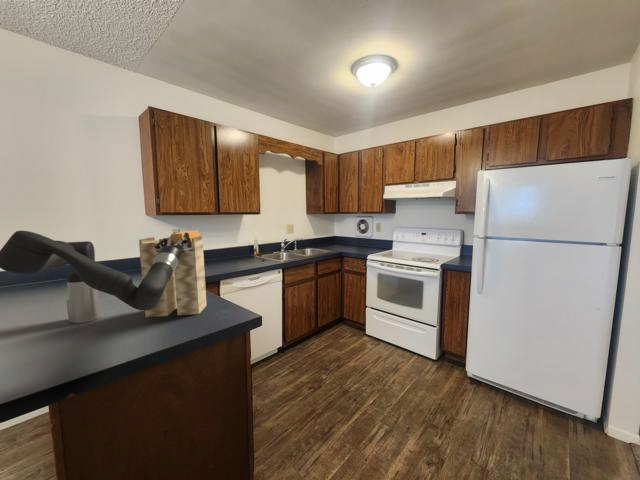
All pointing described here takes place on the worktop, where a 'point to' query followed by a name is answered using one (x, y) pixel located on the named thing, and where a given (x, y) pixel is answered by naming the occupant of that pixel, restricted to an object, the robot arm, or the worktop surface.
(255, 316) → the worktop surface
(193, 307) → the post
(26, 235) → the robot arm
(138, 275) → the worktop surface
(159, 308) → the rosette post
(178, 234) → the bracket bar
